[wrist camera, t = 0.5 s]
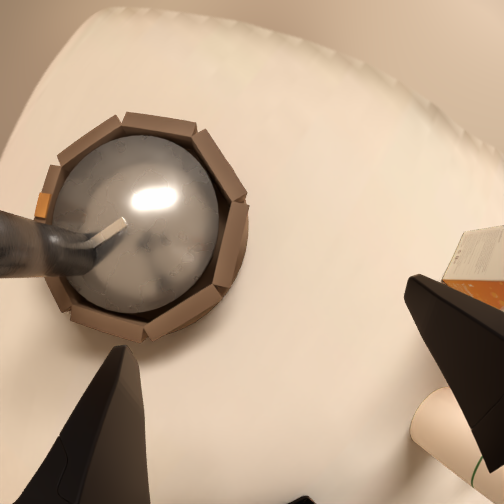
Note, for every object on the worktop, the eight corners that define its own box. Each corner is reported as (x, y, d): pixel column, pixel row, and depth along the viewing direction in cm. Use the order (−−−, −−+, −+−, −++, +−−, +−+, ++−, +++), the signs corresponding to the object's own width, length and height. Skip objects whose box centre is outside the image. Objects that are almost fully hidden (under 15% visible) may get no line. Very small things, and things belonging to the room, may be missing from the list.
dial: (251, 251, 22) (302, 221, 8) (111, 339, 21) (0, 410, 7) (168, 118, 22) (130, -15, 8) (44, 202, 21) (-76, 150, 7)
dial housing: (288, 261, 24) (301, 260, 20) (112, 369, 22) (96, 385, 18) (182, 96, 24) (177, 72, 20) (27, 200, 22) (4, 191, 18)
